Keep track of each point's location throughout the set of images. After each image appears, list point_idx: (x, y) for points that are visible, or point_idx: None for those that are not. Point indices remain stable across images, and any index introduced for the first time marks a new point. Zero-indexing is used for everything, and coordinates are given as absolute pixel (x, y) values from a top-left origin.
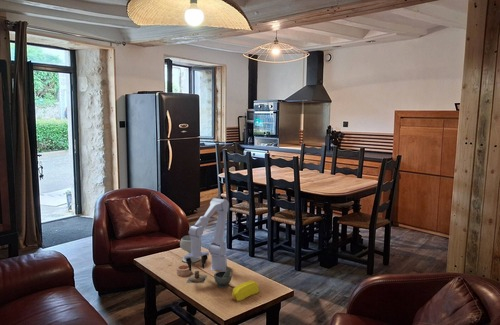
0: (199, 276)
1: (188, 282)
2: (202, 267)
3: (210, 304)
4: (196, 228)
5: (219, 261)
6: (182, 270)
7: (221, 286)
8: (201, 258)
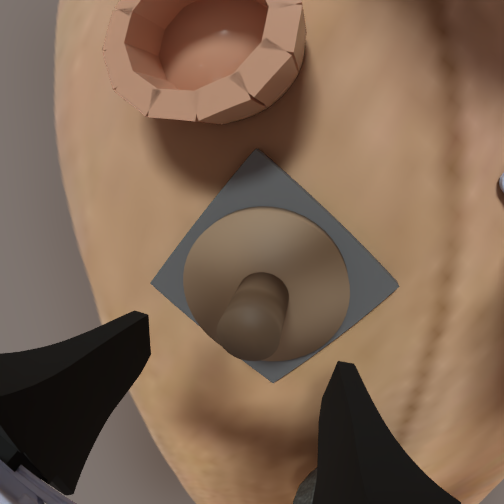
0: (298, 294)
1: (166, 295)
2: (327, 392)
3: (201, 486)
4: None
5: None
6: (138, 107)
7: None
8: (356, 481)
